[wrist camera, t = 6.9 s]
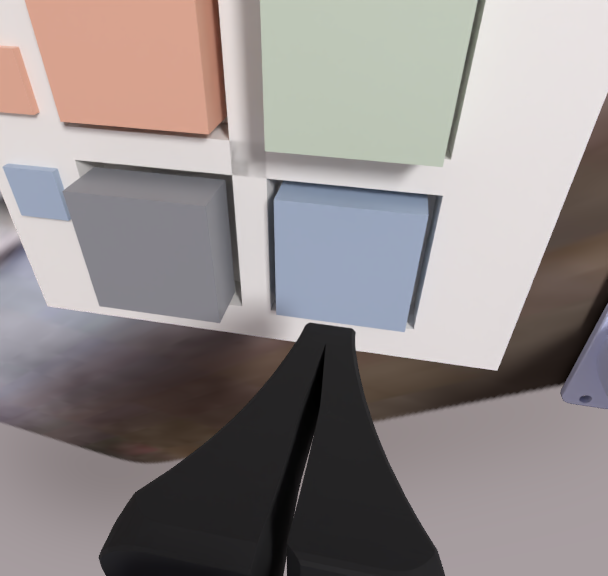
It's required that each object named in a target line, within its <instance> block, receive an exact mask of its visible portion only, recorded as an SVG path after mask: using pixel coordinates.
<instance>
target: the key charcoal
mask: <svg viewBox="0 0 608 576" xmlns="http://www.w3.org/2000/svg"><path fill="white" fill-rule="evenodd" d="M62 192H63V195H64V198H65V201H66V204H67V207H68V210H69V213H70V217H71V220H72V223H73V226H74V229H75V232H76V235H77V238H78V241H79V245H80V248H81V251H82V254H83V257H84V260H85V263H86V266H87V269H88V272H89V276H90V279H91V282H92V285H93V288H94V291H95V294H96V297H97V300H98V304H99V306H101V307H108V308H115V309H122V310H130V311H137V312H144V313H151V314H158V315H165V316H172V317H179V318H186V319H193V320H201V321H208V322H215V323H220V322H221V320H222V318H223V316H224V314H225V312H226V310H227V308H228V306H229V304H230V302H231V300H232V298H233V295H234V293H235V282H234V271H233V260H232V249H231V237H230V226H229V215H228V204H227V193H226V181H225V180H219V179H209V178H199V177H189V176H179V175H169V174H159V173H149V172H139V171H129V170H118V169H108V168H98V167H93V168H92V169H91V170H90V171H88V172H87V173H86V174H84V175H83V176H82V177H80V178H79V179H78V180H76V181H75V182H74V183H72V184H71V185H70V186H68V187H67V188H66V189H64V190H63V191H62Z"/></svg>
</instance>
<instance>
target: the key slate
mask: <svg viewBox="0 0 608 576" xmlns="http://www.w3.org/2000/svg"><path fill="white" fill-rule="evenodd" d="M428 216H429V214H428V195H427V194H420V193H409V192H399V191H389V190H379V189H368V188H358V187H348V186H338V185H327V184H317V183H307V182H297V181H286V180H283V182H282V184H281V186H280V188H279V190H278V192H277V194H276V196H275V198H274V237H275V282H276V315H281V316H289V317H296V318H304V319H311V320H318V321H326V322H333V323H340V324H348V325H355V326H362V327H370V328H377V329H384V330H392V331H399V332H405V329H406V324H407V319H408V314H409V309H410V304H411V299H412V294H413V290H414V285H415V280H416V275H417V270H418V265H419V260H420V255H421V251H422V246H423V241H424V236H425V231H426V226H427V221H428Z"/></svg>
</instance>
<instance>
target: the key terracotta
mask: <svg viewBox="0 0 608 576" xmlns="http://www.w3.org/2000/svg"><path fill="white" fill-rule="evenodd" d="M25 3H26V7H27V10H28V13H29V17H30V20H31V23H32V27H33V30H34V34H35V37H36V40H37V44H38V47H39V51H40V54H41V57H42V61H43V64H44V67H45V71H46V74H47V78H48V81H49V84H50V88H51V91H52V95H53V98H54V101H55V105H56V108H57V111H58V115H59V118H60V122H70V123H82V124H93V125H105V126H117V127H128V128H140V129H151V130H163V131H175V132H186V133H198V134H210V133H211V132H212V131H213V130H214V129H215V128H216V127H217V126H218V125H219V124H220V123H221V122H222V121H223V120H224V119H225V118H226V117H227V105H226V92H225V80H224V67H223V55H222V42H221V29H220V17H219V4H218V0H25Z"/></svg>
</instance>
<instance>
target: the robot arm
mask: <svg viewBox="0 0 608 576" xmlns="http://www.w3.org/2000/svg"><path fill="white" fill-rule="evenodd" d="M355 334H356V332H355V331H354V330H353V329H352V328H346V327H339V326H332V325H325V324H317V323H310V322H309V323H308V324H306V325H305V327H304V329H303V331H302V333H301V334H300V336H299V338H298V340H297V341H296V343H295V344H294V346H293V347H292V349H291V350H290V352H289V353H288V355H287V356H286V358H285V359H284V360H283V362H282V363H281V364H280V366H279V367H278V368H277V370H276V371H275V372H274V374H273V375H272V376H271V377H270V379H269V380H268V381H267V382H266V383H265V384H264V386H263V387H262V388H261V389H260V390H259V391H258V393H257V394H256V395H255V396H254V397H253V398H252V399H251V400H250V401H249V403H248V404H247V405H246V406H245V407H244V408H243V409H242V410H241V411H240V412H239V413H238V414H237V415H236V416H235V417H234V418H233V419H232V420H231V421H230V422H228V423H227V424H226V425H225V426H224V427H223V428H222V429H221V430H220V431H218V432H217V433H216V434H215V435H214V436H213V437H212V438H210V439H209V440H208V441H207V442H206V443H204V444H203V445H202V446H201V447H199V448H198V449H197V450H195V451H194V452H193V453H192V454H190V455H189V456H188V457H186V458H185V459H184V460H182V461H181V462H180V463H178V464H177V465H176V466H174V467H173V468H171V469H170V470H169V471H167V472H166V473H164V474H163V475H161V476H159V477H158V478H156V479H155V480H153V481H152V482H150V483H149V484H147V485H146V486H144V487H143V488H141V489H140V490H138V491H137V492H135V494H134V495H133V496H132V498H131V499H130V501H129V502H128V503H127V505H126V506H125V508H124V510H123V511H122V513H121V514H120V516H119V517H118V519H117V520H116V522H115V524H114V526H113V528H112V530H111V532H110V534H109V536H108V538H107V540H106V542H105V544H104V546H103V548H102V550H101V552H100V555H99V560H100V564H101V567H102V569H103V571H104V573H105V574H106V576H283V573H284V568H285V562H286V557H287V576H445V574H444V570H443V567H442V564H441V560H440V557H439V554H438V551H437V549H436V547H435V546H434V545H433V543H432V541H431V539H430V538H429V536H428V535H427V533H426V531H425V530H424V528H423V527H422V525H421V523H420V522H419V520H418V518H417V516H416V514H415V513H414V511H413V509H412V507H411V505H410V504H409V502H408V500H407V498H406V497H405V494H404V492H403V491H402V488H401V486H400V484H399V482H398V480H397V478H396V476H395V474H394V472H393V470H392V469H391V466H390V464H389V462H388V460H387V457H386V455H385V452H384V450H383V448H382V445H381V443H380V440H379V438H378V435H377V433H376V430H375V427H374V424H373V421H372V418H371V415H370V412H369V409H368V406H367V402H366V399H365V395H364V391H363V387H362V383H361V379H360V374H359V369H358V364H357V357H356V348H355ZM584 395H586V396H584ZM561 396H562V399H563V401H565V402H567V403H570V404H576V405H583V406H590V407H597V408H603V409H608V303H607V305H606V307H605V309H604V311H603V313H602V315H601V316H600V318H599V320H598V322H597V324H596V326H595V328H594V330H593V331H592V333H591V335H590V337H589V339H588V341H587V343H586V344H585V346H584V348H583V350H582V352H581V354H580V356H579V357H578V359H577V361H576V363H575V365H574V367H573V369H572V371H571V372H570V374H569V376H568V378H567V380H566V382H565V384H564V385H563V387H562V389H561ZM314 432H315V433H314ZM313 436H314V437H313ZM312 439H313V441H312ZM311 443H312V446H311ZM310 446H311V450H310ZM309 450H310V455H309V459H308V463H307V468H306V471H305V475H304V479H303V483H302V487H301V492H300V495H299V499H298V504H297V507H296V502H297V496H298V491H299V487H300V483H301V479H302V475H303V471H304V468H305V464H306V460H307V457H308V454H309ZM295 507H296V511H295ZM294 513H295V515H294Z"/></svg>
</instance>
